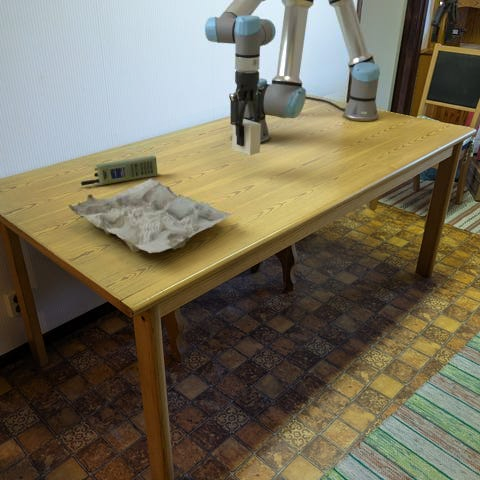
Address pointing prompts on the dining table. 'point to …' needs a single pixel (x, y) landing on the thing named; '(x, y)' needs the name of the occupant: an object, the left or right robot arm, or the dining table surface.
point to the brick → (248, 138)
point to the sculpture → (149, 216)
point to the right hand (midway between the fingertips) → (441, 41)
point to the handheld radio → (124, 170)
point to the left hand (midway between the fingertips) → (245, 143)
